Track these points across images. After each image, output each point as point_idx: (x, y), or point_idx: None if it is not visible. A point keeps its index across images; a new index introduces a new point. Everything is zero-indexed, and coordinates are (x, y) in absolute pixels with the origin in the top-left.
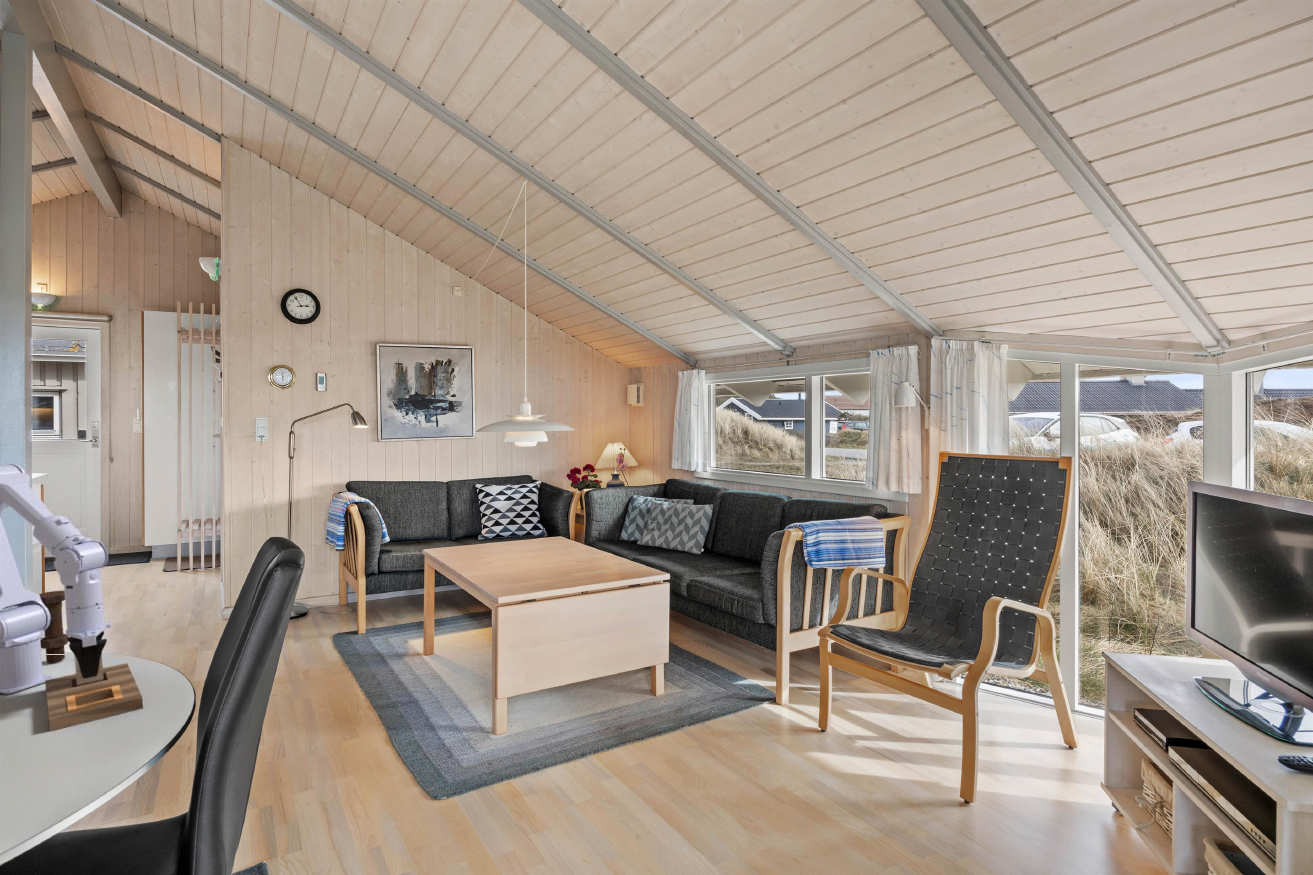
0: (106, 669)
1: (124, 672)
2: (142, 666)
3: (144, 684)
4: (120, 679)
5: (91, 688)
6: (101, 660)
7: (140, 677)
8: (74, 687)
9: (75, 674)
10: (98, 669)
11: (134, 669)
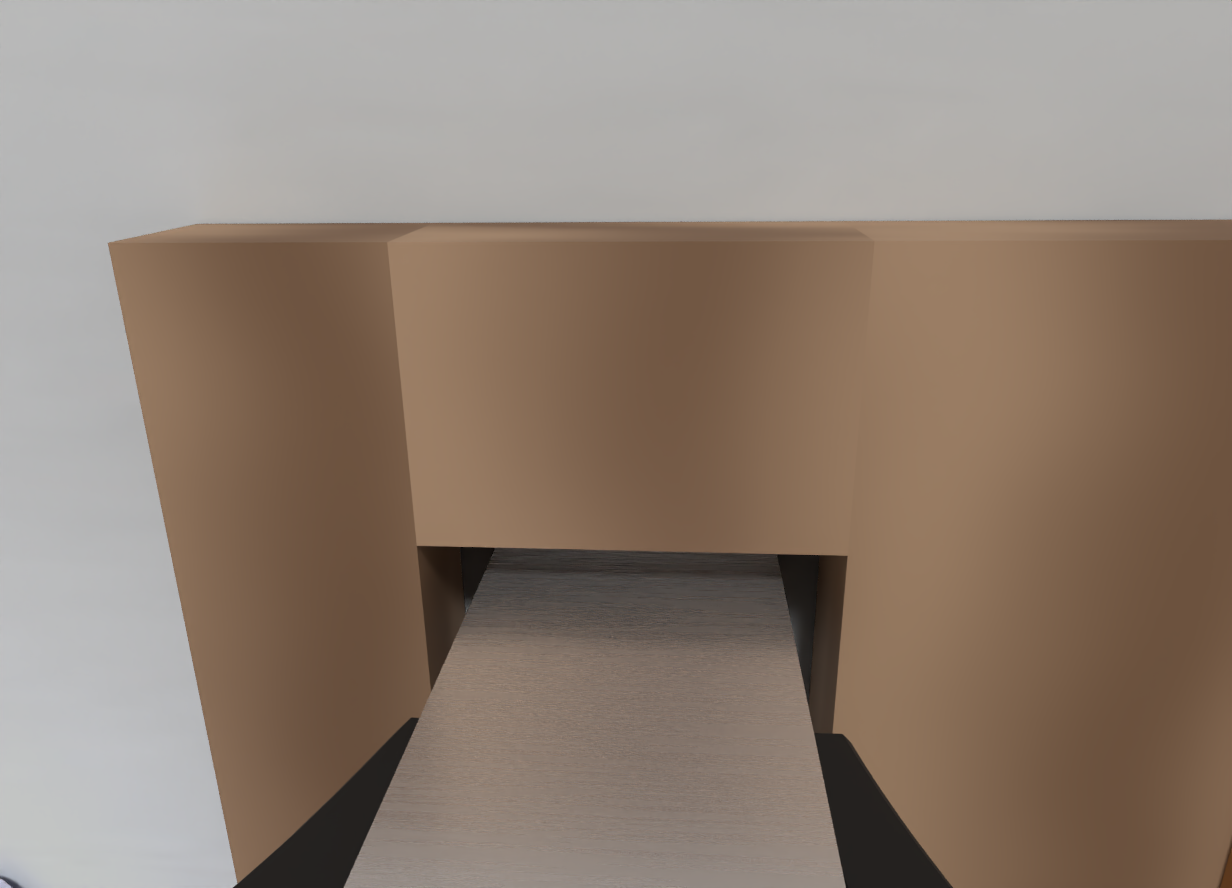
0: (274, 523)
1: (647, 332)
2: (7, 7)
3: (994, 77)
4: (1000, 419)
5: (1078, 751)
6: (831, 840)
7: (577, 93)
8: None
9: (250, 820)
10: (871, 782)
11: (99, 128)
